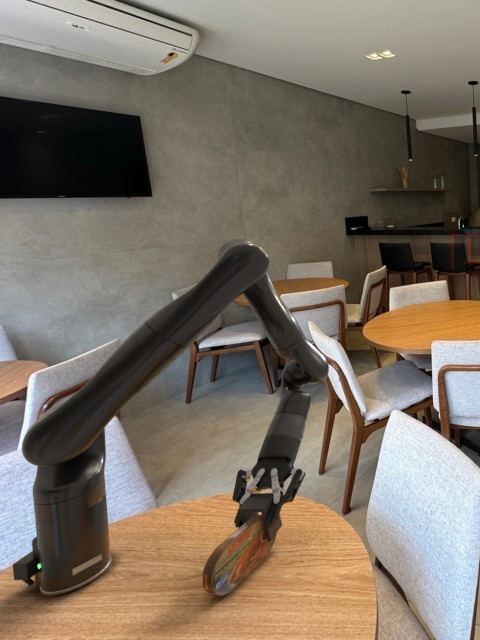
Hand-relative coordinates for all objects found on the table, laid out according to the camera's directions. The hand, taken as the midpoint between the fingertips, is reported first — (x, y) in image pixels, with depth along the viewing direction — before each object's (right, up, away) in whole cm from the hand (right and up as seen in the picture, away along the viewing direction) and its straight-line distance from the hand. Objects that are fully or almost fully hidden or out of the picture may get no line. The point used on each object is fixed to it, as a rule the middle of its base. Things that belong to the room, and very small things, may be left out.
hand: (254, 526), depth 82 cm
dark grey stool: (0, -3, +3) cm, 5 cm away
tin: (0, -7, -3) cm, 8 cm away
